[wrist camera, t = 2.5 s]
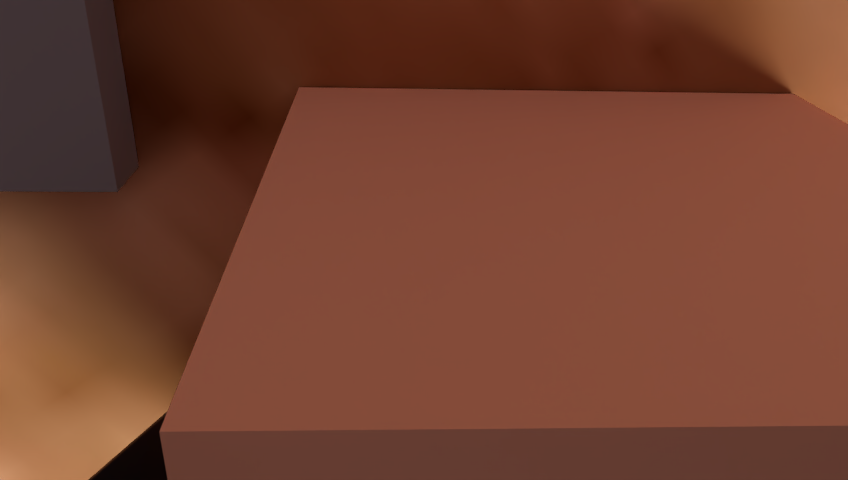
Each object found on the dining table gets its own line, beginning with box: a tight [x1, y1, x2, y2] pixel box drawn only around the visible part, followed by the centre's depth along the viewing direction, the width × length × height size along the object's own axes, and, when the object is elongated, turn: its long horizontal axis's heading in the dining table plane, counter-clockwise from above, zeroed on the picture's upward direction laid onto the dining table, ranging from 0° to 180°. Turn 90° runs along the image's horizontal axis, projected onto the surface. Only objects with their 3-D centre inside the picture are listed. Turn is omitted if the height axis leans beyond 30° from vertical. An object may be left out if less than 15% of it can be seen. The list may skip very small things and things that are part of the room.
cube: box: [159, 87, 848, 480], centre depth 8 cm, size 6×6×6 cm
